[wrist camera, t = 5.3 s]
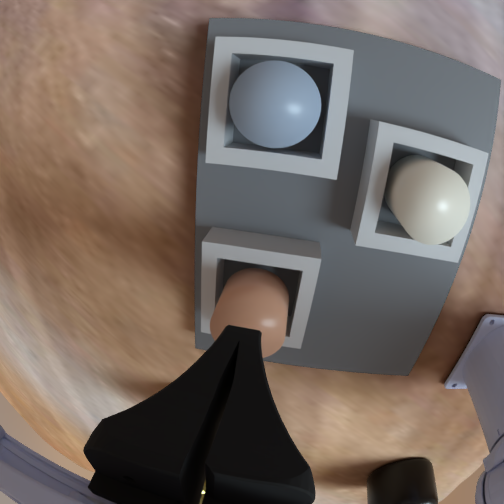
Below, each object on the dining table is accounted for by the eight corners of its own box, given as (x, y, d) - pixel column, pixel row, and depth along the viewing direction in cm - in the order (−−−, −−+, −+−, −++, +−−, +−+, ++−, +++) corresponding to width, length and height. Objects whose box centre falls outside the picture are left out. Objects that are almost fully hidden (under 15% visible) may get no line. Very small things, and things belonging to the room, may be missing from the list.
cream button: (451, 163, 14) (478, 177, 11) (436, 226, 16) (457, 250, 13) (391, 148, 14) (409, 157, 12) (377, 215, 16) (390, 237, 13)
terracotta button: (294, 273, 17) (291, 307, 14) (284, 327, 18) (279, 364, 15) (225, 263, 17) (210, 294, 14) (222, 317, 18) (209, 351, 16)
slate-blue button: (321, 74, 13) (326, 66, 11) (312, 145, 15) (315, 154, 12) (246, 66, 14) (233, 57, 11) (239, 136, 15) (225, 143, 13)
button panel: (488, 80, 13) (520, 79, 10) (404, 362, 22) (413, 395, 19) (216, 24, 14) (197, 8, 11) (200, 335, 24) (187, 367, 21)
